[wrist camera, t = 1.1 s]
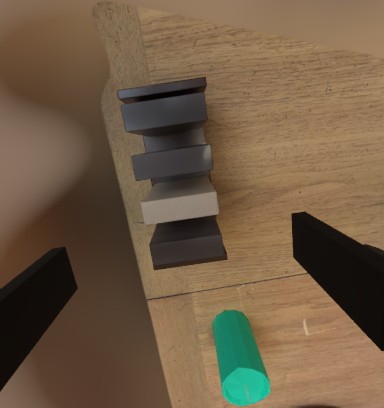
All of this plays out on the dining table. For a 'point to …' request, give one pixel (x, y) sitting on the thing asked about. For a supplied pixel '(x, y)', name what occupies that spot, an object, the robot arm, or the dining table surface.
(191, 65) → the dining table surface
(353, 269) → the robot arm
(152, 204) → the cream book
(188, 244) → the grey rack
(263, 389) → the candle
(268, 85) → the dining table surface
